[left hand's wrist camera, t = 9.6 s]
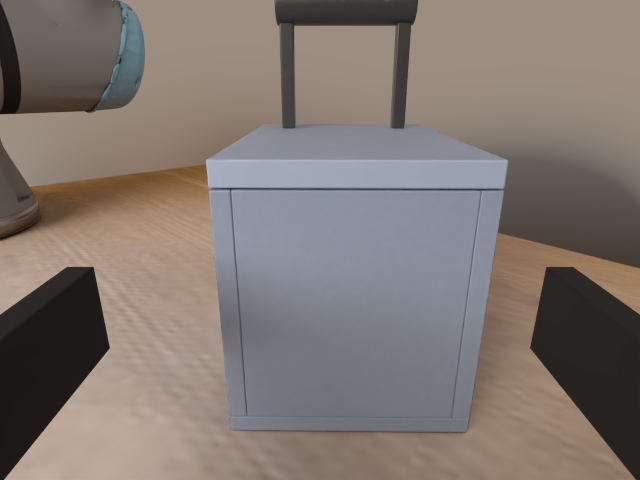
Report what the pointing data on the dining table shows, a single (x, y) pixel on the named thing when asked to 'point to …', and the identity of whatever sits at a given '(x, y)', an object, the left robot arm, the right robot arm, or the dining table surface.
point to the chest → (352, 305)
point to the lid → (351, 126)
